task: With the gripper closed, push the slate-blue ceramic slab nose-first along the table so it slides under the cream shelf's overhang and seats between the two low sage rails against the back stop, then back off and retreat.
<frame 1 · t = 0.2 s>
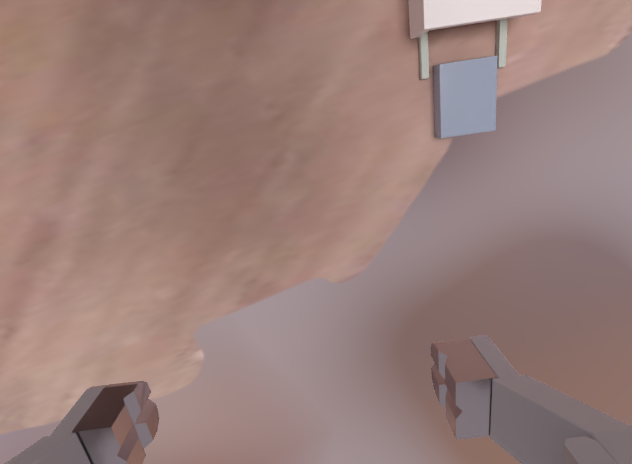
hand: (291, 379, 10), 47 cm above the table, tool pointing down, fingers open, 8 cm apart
slab: (459, 98, 53), on the table
shelf: (460, 11, 49), on the table
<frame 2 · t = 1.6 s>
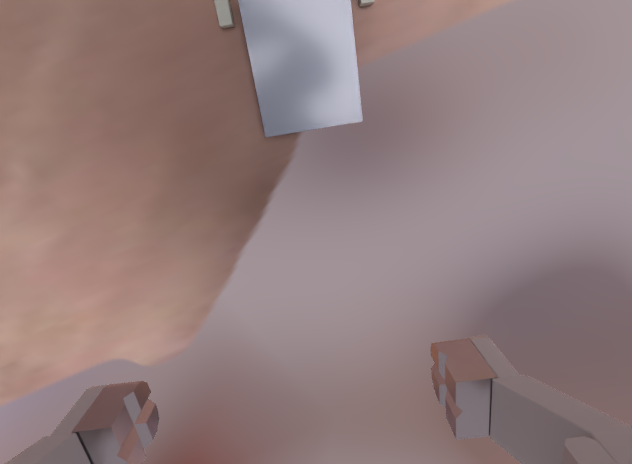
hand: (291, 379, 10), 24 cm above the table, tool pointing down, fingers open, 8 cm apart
slab: (303, 65, 30), on the table
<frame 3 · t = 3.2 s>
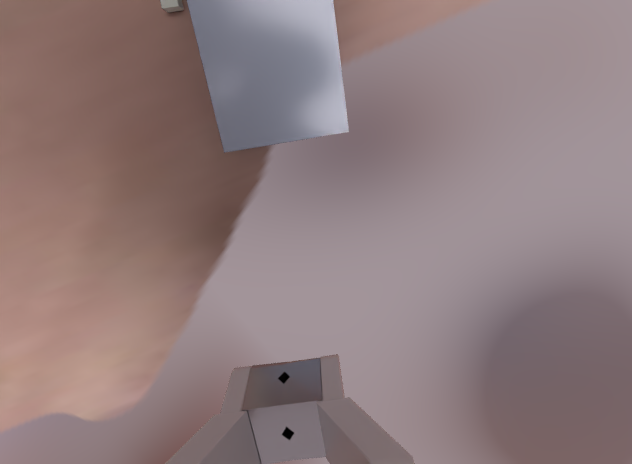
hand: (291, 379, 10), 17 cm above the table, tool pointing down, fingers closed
slab: (274, 61, 23), on the table
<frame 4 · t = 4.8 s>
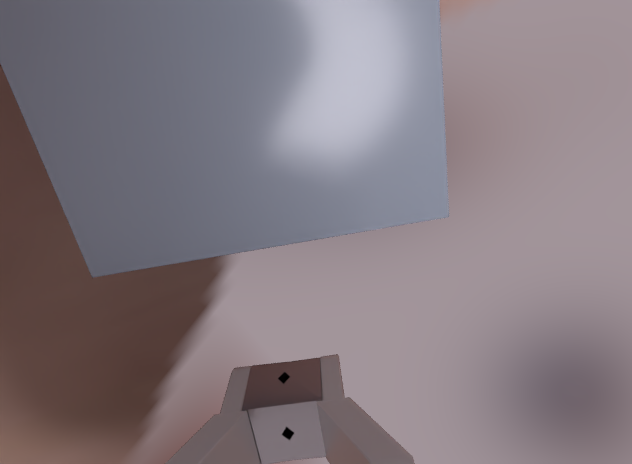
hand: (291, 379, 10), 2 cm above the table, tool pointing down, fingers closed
slab: (237, 23, 9), on the table
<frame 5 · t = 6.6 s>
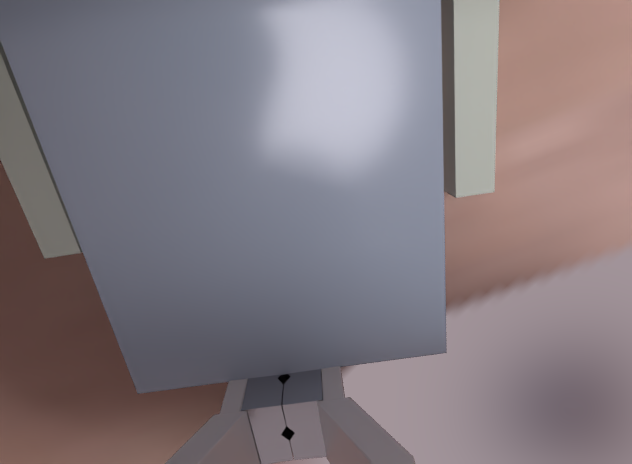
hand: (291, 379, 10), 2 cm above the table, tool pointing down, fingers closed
slab: (267, 161, 10), on the table
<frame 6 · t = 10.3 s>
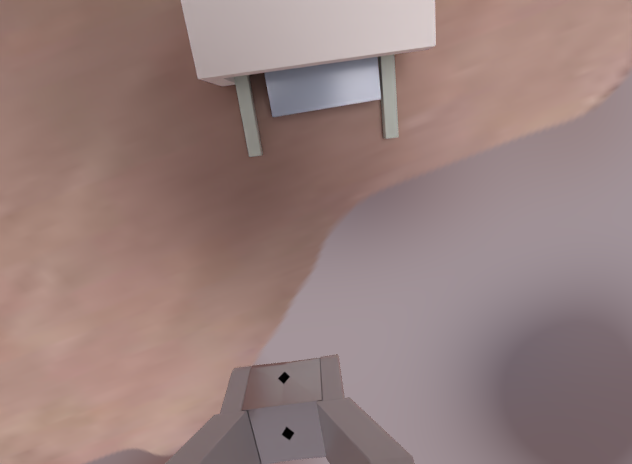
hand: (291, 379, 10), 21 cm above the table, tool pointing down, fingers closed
slab: (314, 40, 27), on the table
shelf: (309, 37, 26), on the table
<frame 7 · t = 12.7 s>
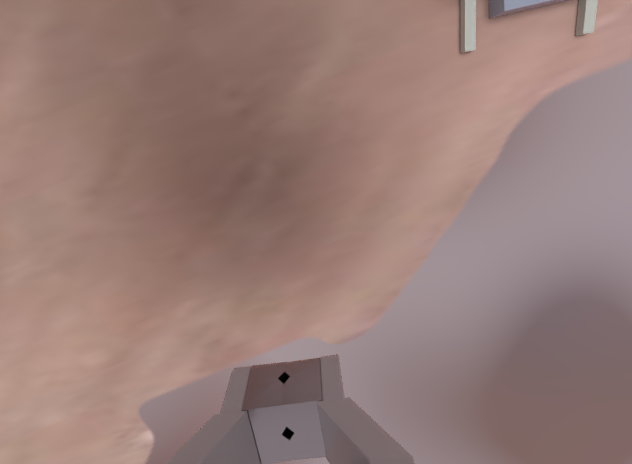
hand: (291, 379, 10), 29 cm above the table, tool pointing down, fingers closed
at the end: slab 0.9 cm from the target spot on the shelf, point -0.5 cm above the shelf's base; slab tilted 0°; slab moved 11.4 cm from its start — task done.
